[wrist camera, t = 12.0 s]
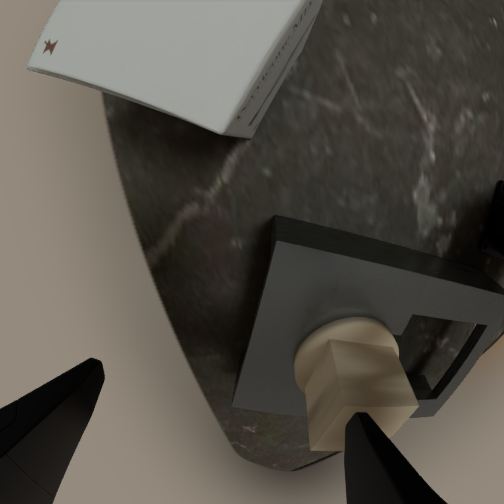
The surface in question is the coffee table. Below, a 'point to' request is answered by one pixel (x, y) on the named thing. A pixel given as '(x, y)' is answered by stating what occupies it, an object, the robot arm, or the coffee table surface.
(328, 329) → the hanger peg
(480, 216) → the coffee table surface
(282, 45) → the supplement box
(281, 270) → the keyhole plate
